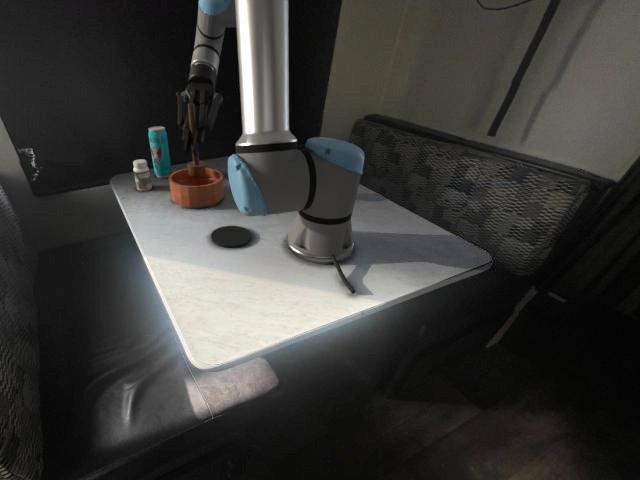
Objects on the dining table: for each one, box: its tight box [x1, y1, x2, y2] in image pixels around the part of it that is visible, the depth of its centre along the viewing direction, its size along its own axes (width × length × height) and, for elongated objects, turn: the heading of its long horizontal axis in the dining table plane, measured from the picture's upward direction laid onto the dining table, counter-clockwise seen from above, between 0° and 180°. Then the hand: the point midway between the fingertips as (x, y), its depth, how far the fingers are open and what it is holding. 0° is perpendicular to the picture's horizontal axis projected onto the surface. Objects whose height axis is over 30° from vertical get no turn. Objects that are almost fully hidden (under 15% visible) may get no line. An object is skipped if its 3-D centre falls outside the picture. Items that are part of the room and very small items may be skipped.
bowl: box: [168, 167, 225, 209], centre depth 98 cm, size 16×16×6 cm
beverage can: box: [148, 125, 172, 179], centre depth 110 cm, size 6×6×15 cm
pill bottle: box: [132, 158, 153, 191], centre depth 104 cm, size 5×5×8 cm
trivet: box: [210, 225, 252, 249], centre depth 82 cm, size 10×10×1 cm
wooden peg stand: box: [186, 102, 207, 177], centre depth 93 cm, size 5×5×18 cm
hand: (190, 153), depth 91 cm, fingers closed on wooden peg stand, 2 cm apart
